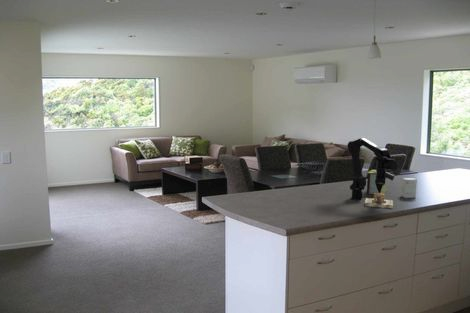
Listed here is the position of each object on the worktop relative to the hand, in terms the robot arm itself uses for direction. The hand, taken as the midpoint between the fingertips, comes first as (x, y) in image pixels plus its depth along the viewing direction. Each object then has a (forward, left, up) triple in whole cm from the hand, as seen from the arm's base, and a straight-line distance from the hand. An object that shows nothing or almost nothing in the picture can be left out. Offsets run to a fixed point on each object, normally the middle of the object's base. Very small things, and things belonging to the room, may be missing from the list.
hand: (379, 191), depth 319 cm
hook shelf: (0, 0, -8) cm, 8 cm away
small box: (+19, +33, -9) cm, 39 cm away
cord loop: (0, 0, -7) cm, 7 cm away
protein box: (-3, +39, -9) cm, 40 cm away
